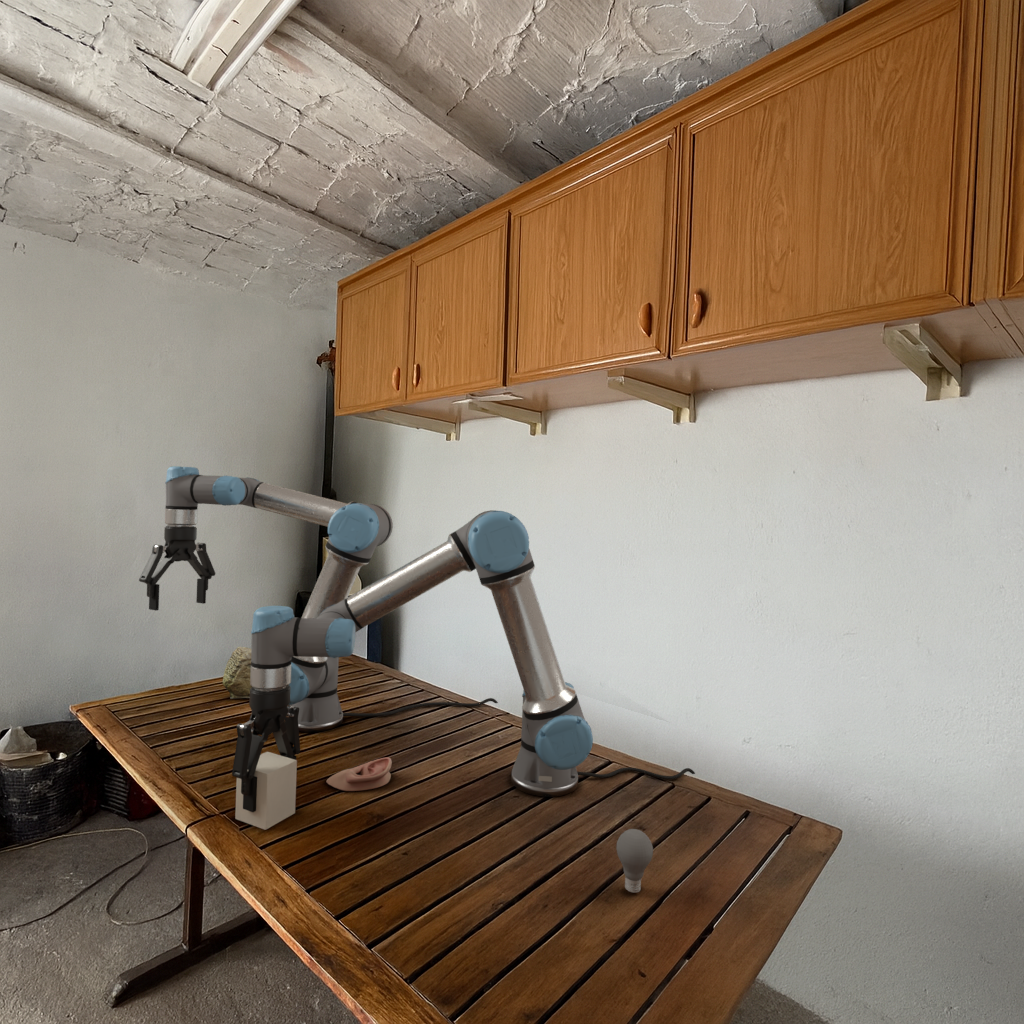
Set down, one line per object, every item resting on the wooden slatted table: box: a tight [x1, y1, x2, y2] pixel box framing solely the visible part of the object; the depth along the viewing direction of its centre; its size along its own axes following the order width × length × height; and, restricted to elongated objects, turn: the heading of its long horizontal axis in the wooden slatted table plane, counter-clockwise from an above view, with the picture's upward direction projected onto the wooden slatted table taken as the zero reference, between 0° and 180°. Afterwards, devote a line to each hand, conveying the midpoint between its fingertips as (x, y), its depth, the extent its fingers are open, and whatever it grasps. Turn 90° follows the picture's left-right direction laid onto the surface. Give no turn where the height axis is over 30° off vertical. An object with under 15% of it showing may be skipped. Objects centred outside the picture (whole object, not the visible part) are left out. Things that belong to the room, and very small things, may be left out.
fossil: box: [222, 646, 252, 699], centre depth 198 cm, size 9×18×15 cm, turn 132°
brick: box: [234, 751, 298, 831], centre depth 125 cm, size 8×8×11 cm
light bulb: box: [615, 828, 654, 894], centre depth 106 cm, size 6×6×10 cm
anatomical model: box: [326, 756, 393, 792], centre depth 142 cm, size 13×4×12 cm
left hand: (178, 606), depth 166 cm, fingers open, 13 cm apart
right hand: (266, 800), depth 125 cm, fingers closed on brick, 8 cm apart
